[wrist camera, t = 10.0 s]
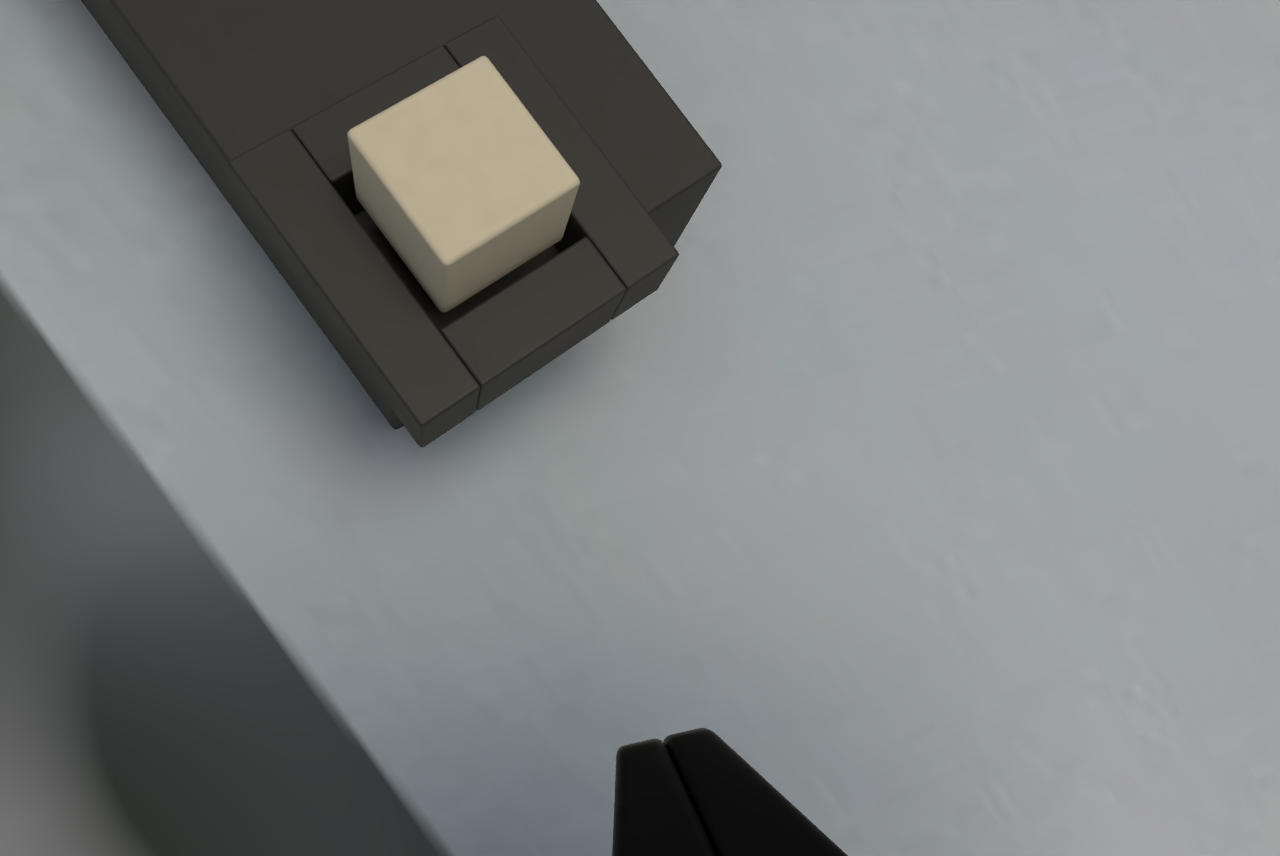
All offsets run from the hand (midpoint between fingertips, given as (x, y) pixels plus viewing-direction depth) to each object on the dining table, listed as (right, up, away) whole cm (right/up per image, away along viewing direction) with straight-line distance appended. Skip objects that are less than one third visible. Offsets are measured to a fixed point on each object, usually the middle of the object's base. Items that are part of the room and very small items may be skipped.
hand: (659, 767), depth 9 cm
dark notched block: (-8, +12, +15) cm, 21 cm away
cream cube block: (-3, +7, +9) cm, 12 cm away
